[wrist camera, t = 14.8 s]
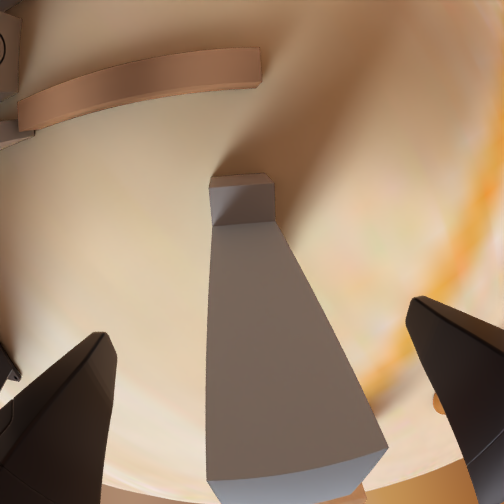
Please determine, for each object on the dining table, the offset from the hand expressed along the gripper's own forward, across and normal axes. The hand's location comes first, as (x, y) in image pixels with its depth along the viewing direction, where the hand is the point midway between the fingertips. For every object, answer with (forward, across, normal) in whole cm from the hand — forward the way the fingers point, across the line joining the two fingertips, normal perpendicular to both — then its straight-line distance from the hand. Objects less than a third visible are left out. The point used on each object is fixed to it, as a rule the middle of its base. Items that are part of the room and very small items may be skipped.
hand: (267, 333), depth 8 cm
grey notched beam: (+8, 0, 0) cm, 8 cm away
